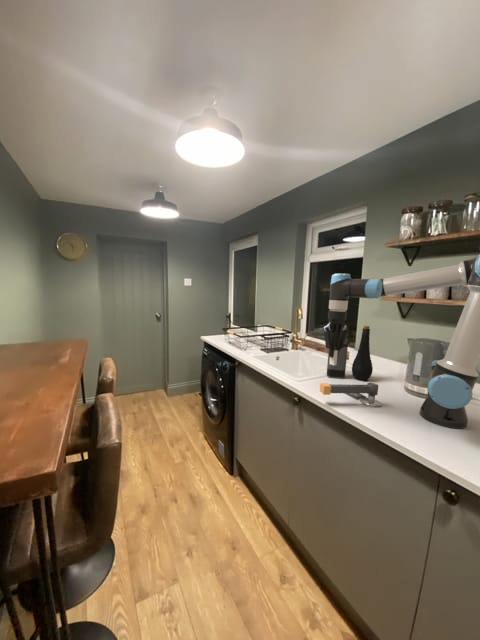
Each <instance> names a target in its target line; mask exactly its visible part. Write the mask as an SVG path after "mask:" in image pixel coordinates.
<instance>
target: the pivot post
mask: <svg viewBox="0 0 480 640" xmlns="http://www.w3.org/2000/svg"><path fill="white" fill-rule="evenodd" d="M367 395H368V396H367V398H362V399H360V403H361V404H363V405H365V406H367V407H371V408H380V407H382V402H381V401H380V400H377V399H376V395H370V394H367Z"/></svg>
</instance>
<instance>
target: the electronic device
mask: <svg viewBox="0 0 480 640" xmlns="http://www.w3.org/2000/svg"><path fill="white" fill-rule="evenodd" d="M348 347H349V343H347V342H346V341H345V342H344V345H343V348H342V349H341V350H340V351H339V352H338V357H337V364H336V365H331V364H329V362H330V357H329V351H330V350H329V349H328V353H327V354H328V355H327V363H326V365H327V367H326V376H327V377H328V378H330V379H340V380H341V379H343V380H344V379H345V377H346V368H347V357H348Z"/></svg>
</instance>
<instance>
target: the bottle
mask: <svg viewBox="0 0 480 640" xmlns="http://www.w3.org/2000/svg"><path fill="white" fill-rule="evenodd" d="M370 327H371V326H370V325H363V328H362V329H361V330H362V332H361V338H360V343H359V346H358V349H357V354H356V355H355V358H354V360H353V362H352V364H351V365H352V366H351V372H352V376H353V379H354V380H357V381H360V382H368V381H369V379H370V378H371V377H372V375H373V371H374V370H373V367H374V366H373V363H372V359H371V352H370V334H371V333H370V331H371V329H370Z"/></svg>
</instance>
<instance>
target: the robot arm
mask: <svg viewBox="0 0 480 640" xmlns="http://www.w3.org/2000/svg"><path fill="white" fill-rule="evenodd" d="M456 286H463V287H465V288H468V290H469V294H468V296H467V299H466V301H465V304H464V307H463V309H462V311H461V314H460V316H459V319H458V322H457V324H456V326H455V330H454V332H453V334H452V337H451V339H450V342H449V345H448V348H447V350H446V352H445V354H444V357H443V358H442V359H440V360H439V359H434V360H433V361H432V362H431V365H430V372H429V373H430V374H429V381H428V384H427V394H426V395H427V396H426V398H425V399H424V402H422V404H421V406H420V409H419V416H421V417H422V418H423V419H424V420H427V421H429V422H431V423H433V424H436V425H439V426H442V427H446V428H451V429H466V428H467V427H468V424H469V423H468V422H469V421H468V420H469V418H468V415H467V411H466V406H468V404H469V403H470V402H471V401H472V400H473V389H474V387H475V385H476V382H477V380H478V377H479V372H477V370H476V366H477V365H478V362H479V360H480V254H479V255H478V256H477V257H474V258H471V259H467V260H462V261H460V262H459V263H458V264H455V265H450V266H444V267H439V268H433V269H428V270H422V271H417V272H412V273H411V272H410V273H406V274H402V275H401V274H400V275H396V276H391V277H385V278H379V279H376V278H352V277H351V274H350V273H334V274H332V275H331V279H330V286H329V287H330V289H329V300H328V309H329V310H327V319H328V321H327V325H325V326H322V330H323V334H324V335H323V336H324V343H325V348H326V349H328V353H329V357H330V362H329V364H331V365H336V364H337V357H338V352H339V351H340V350H341V349H342V348H343V345H344V342H346V337H347V335H348V332H349V330H350V327H349V326H347V325H346V322H345V321H346V320H347V316H348V315H347V314H348V312H347V310H348V304H349V298H360V299H371V300H372V299H380V298H381V297H387V296H393V295H400V294H408V293H412V292H413V293H414V292H415V293H416V292H420V291H428V290H436V289H443V288H448V287H456ZM329 350H330V351H329Z"/></svg>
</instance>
